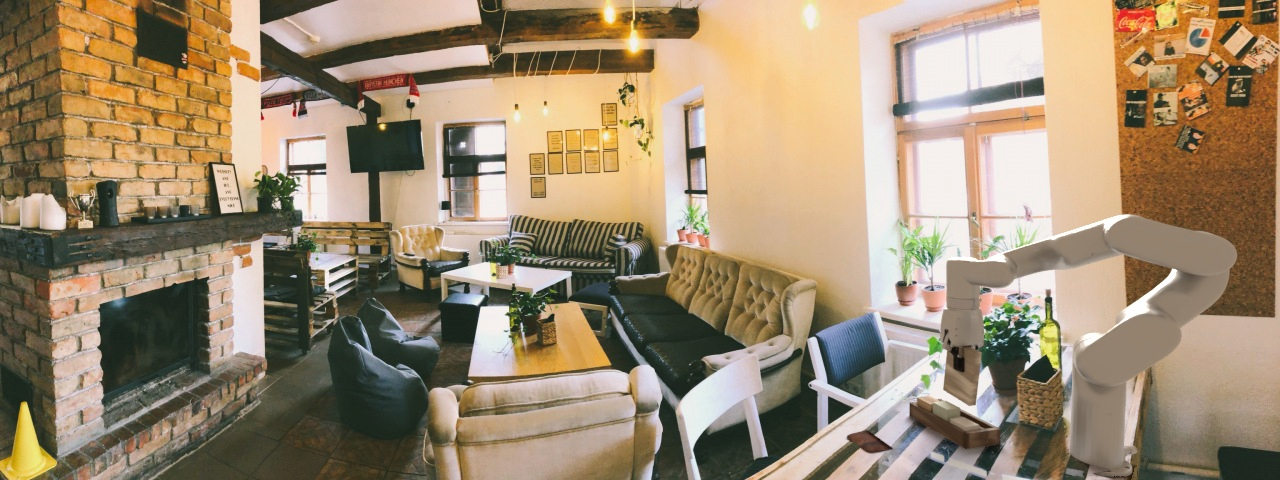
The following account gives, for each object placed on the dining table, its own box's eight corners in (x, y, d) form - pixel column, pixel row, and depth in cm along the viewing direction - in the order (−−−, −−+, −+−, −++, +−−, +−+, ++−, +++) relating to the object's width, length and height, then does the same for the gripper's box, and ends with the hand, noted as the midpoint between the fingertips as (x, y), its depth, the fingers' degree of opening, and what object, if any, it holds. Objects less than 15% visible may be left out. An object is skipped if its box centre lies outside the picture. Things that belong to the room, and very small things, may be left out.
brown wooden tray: (940, 416, 148) (940, 398, 147) (1000, 449, 128) (1000, 429, 128) (909, 420, 146) (909, 402, 146) (965, 454, 126) (966, 434, 126)
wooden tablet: (918, 417, 146) (949, 428, 137) (919, 425, 146) (949, 436, 137) (843, 434, 138) (869, 446, 129) (844, 442, 138) (870, 455, 129)
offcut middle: (945, 425, 140) (945, 400, 139) (960, 433, 135) (960, 408, 134) (932, 426, 139) (933, 402, 138) (947, 435, 134) (947, 409, 133)
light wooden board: (949, 389, 142) (954, 339, 140) (975, 405, 134) (981, 352, 131) (943, 389, 142) (948, 340, 139) (969, 406, 133) (975, 353, 130)
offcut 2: (963, 434, 134) (963, 416, 133) (978, 443, 129) (979, 424, 128) (949, 436, 133) (950, 418, 133) (965, 445, 128) (965, 426, 128)
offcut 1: (929, 415, 145) (929, 395, 145) (942, 423, 141) (942, 402, 140) (917, 417, 145) (917, 397, 144) (930, 425, 140) (930, 404, 139)
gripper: (976, 298, 140) (976, 362, 141) (926, 303, 137) (927, 369, 138) (1000, 303, 132) (1000, 371, 134) (948, 308, 129) (948, 378, 131)
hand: (962, 369), depth 136 cm, fingers closed on light wooden board, 1 cm apart
